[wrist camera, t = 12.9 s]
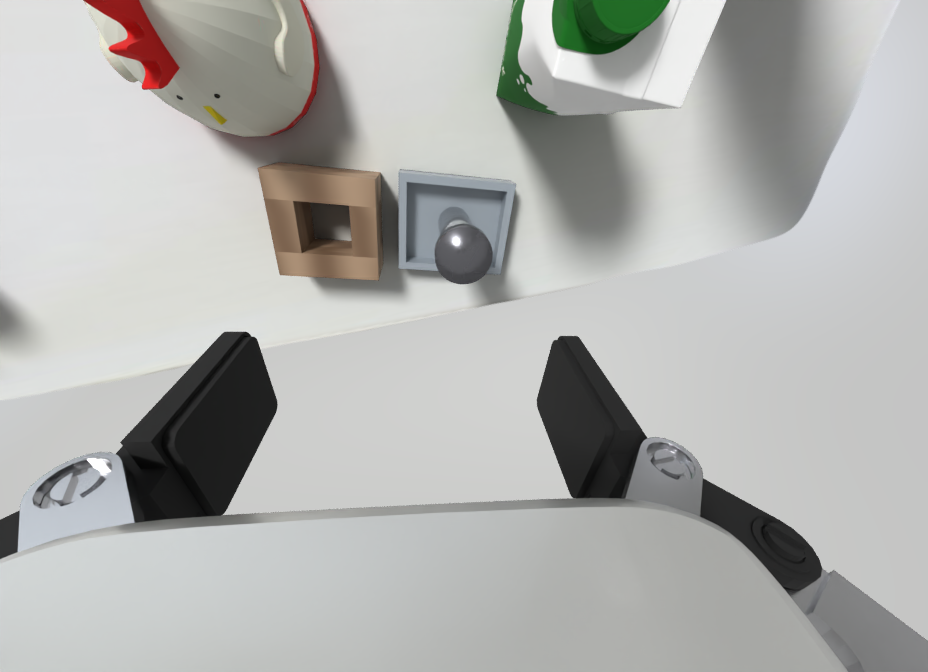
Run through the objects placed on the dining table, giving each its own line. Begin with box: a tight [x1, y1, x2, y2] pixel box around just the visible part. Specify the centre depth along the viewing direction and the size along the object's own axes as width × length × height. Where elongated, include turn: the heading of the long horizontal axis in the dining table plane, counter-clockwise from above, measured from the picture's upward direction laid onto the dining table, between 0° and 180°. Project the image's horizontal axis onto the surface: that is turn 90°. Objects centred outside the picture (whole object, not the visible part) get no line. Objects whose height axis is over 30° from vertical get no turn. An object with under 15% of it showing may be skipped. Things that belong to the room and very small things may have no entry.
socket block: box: [258, 162, 383, 280], centre depth 34 cm, size 10×10×5 cm
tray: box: [399, 169, 516, 274], centre depth 37 cm, size 12×10×2 cm
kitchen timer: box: [84, 0, 319, 137], centre depth 22 cm, size 14×14×15 cm
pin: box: [434, 207, 493, 284], centre depth 33 cm, size 5×5×11 cm
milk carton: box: [496, 0, 726, 115], centre depth 22 cm, size 9×9×20 cm
